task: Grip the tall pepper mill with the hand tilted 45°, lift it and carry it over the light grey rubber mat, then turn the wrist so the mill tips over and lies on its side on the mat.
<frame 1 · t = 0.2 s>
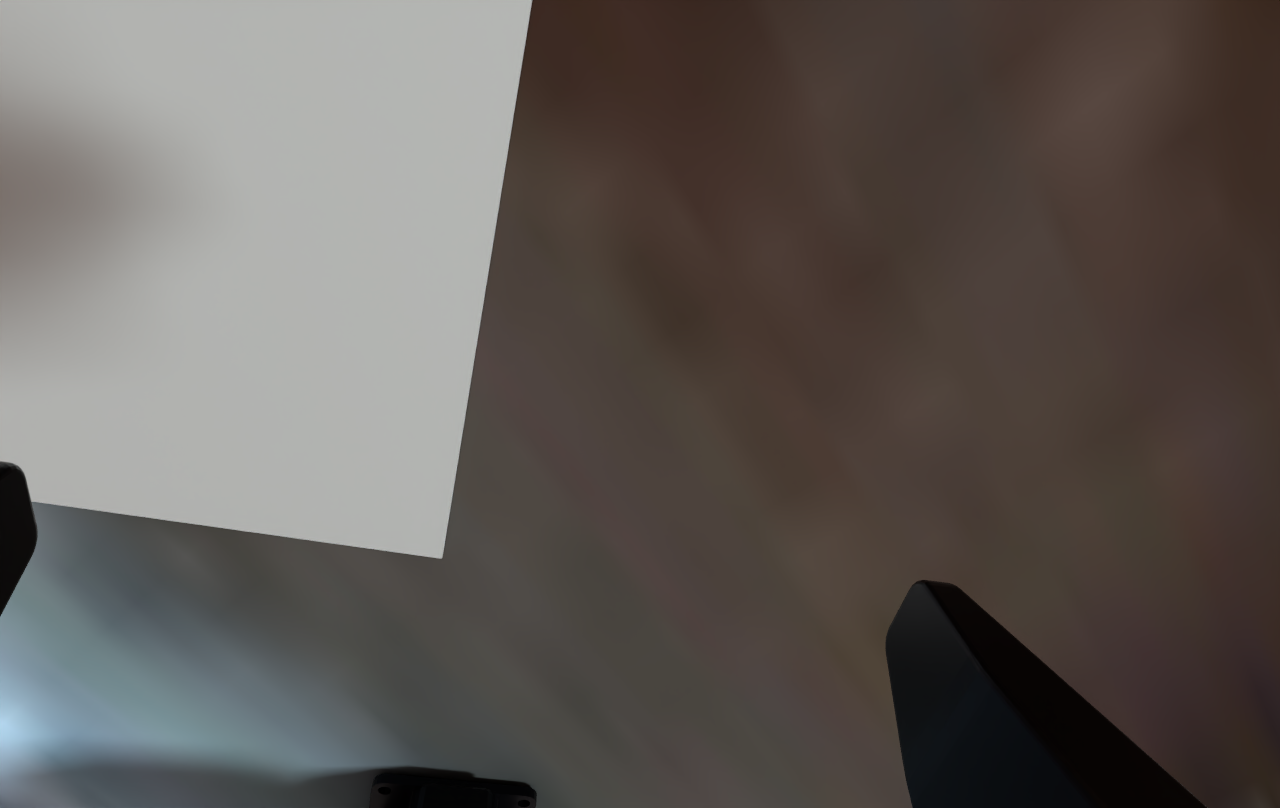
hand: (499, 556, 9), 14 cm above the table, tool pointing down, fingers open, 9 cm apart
grey mat: (125, 197, 21), on the table
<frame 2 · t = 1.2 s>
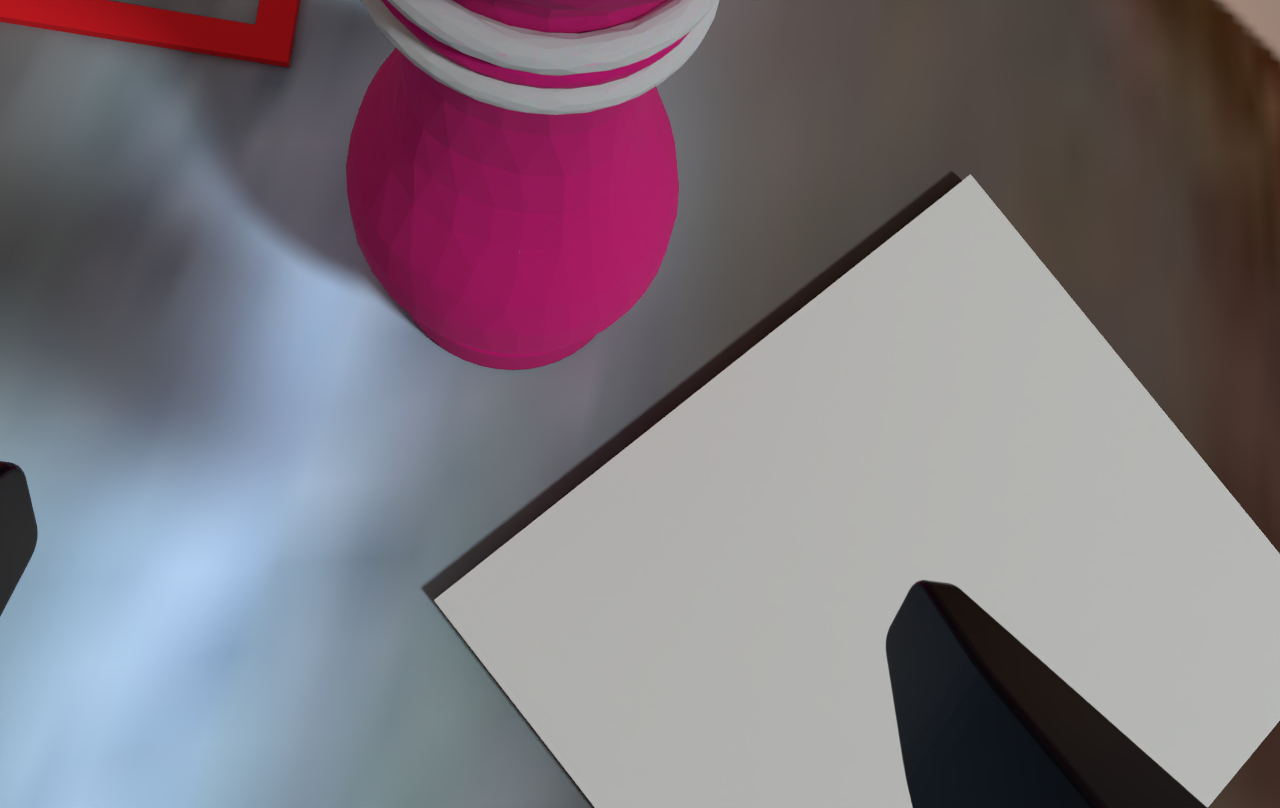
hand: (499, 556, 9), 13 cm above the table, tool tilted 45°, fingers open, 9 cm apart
pepper mill: (510, 262, 23), on the table
grey mat: (928, 619, 23), on the table
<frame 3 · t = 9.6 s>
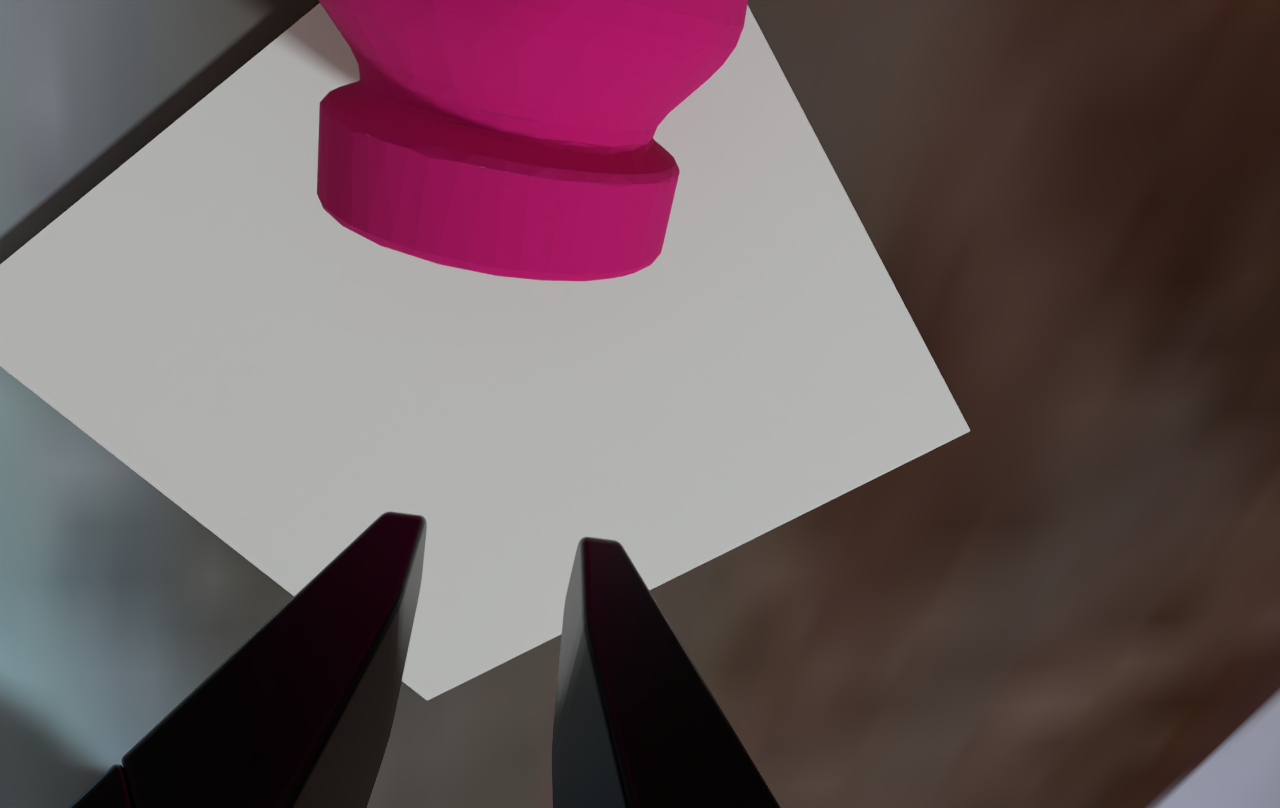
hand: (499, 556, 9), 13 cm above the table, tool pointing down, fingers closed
pepper mill: (494, 232, 16), point 4 cm above the table, touching grey mat
grey mat: (494, 370, 22), on the table
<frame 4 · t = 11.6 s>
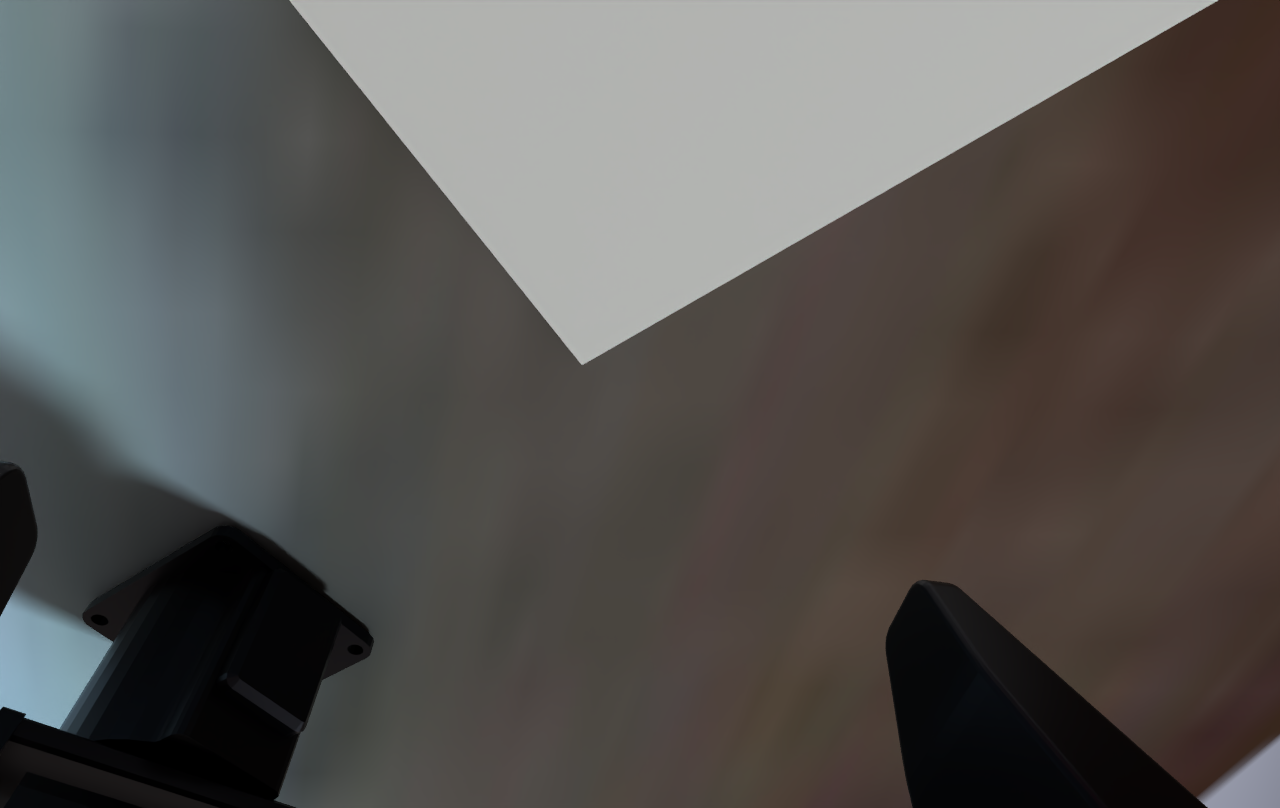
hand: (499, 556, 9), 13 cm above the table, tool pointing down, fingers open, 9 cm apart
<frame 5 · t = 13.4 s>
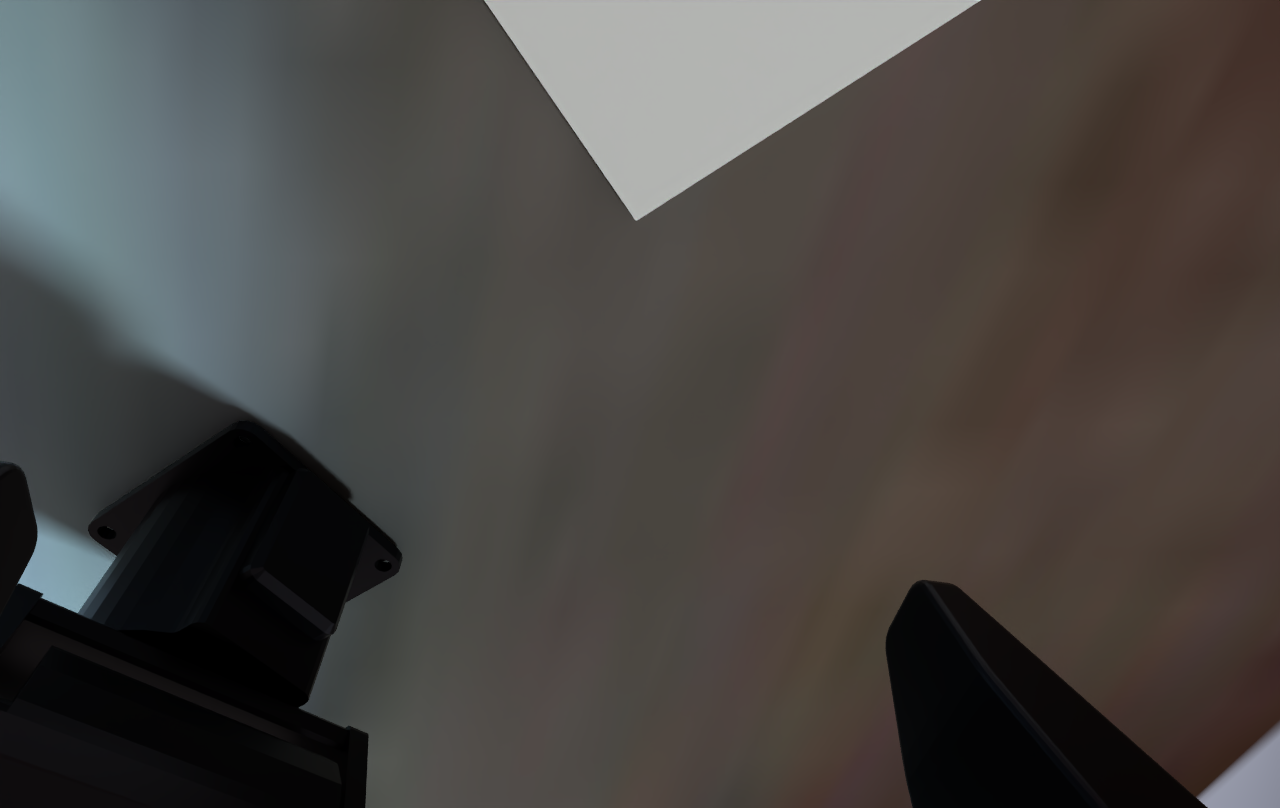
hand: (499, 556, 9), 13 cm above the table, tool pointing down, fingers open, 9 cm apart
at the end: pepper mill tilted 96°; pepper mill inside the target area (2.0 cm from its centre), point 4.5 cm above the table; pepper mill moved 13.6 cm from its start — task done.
